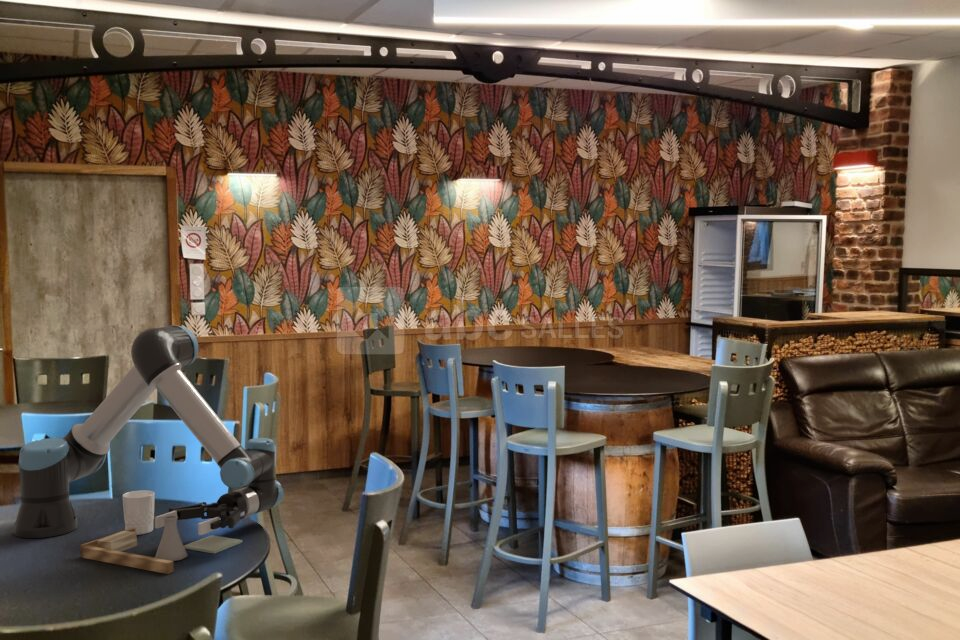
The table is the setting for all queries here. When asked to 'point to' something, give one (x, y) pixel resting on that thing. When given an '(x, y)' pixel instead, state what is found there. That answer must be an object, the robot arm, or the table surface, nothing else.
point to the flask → (171, 541)
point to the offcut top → (117, 540)
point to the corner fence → (125, 557)
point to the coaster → (212, 544)
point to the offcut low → (127, 546)
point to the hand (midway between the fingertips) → (177, 526)
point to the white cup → (139, 511)
